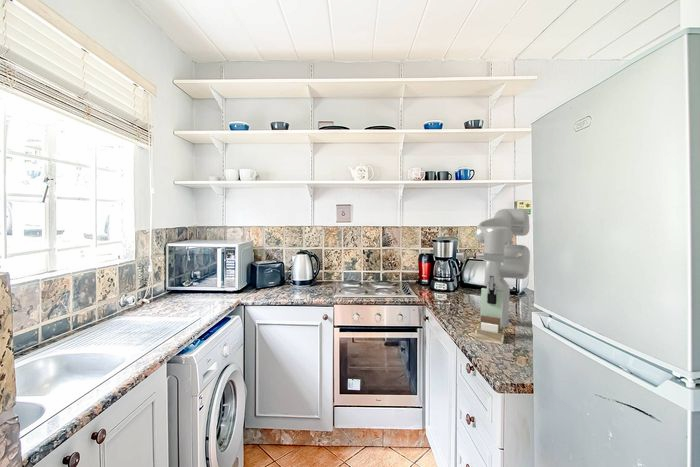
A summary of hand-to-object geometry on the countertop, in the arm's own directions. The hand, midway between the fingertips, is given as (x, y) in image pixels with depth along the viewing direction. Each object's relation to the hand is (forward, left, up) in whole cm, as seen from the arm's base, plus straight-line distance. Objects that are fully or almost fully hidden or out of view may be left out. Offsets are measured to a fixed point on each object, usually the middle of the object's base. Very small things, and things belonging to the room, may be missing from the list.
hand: (491, 302), depth 124 cm
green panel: (0, 0, -11) cm, 11 cm away
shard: (-14, -10, -15) cm, 23 cm away
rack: (+3, 0, -14) cm, 14 cm away
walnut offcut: (+3, 0, -13) cm, 13 cm away
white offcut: (+6, 0, -13) cm, 15 cm away
